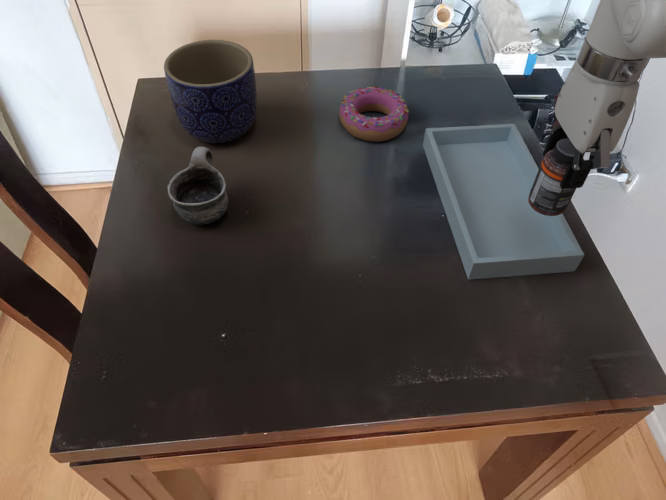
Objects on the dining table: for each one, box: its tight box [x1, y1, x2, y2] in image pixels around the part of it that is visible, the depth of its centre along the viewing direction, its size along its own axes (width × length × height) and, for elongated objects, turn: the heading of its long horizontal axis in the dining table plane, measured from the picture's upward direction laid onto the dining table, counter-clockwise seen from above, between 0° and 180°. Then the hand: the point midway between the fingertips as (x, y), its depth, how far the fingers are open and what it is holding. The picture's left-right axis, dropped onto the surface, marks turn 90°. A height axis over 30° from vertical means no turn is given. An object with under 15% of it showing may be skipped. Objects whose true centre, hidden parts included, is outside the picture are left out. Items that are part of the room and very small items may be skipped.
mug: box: [167, 146, 229, 226], centre depth 92 cm, size 10×12×10 cm
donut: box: [338, 86, 410, 142], centre depth 111 cm, size 14×14×5 cm
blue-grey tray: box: [422, 123, 585, 281], centre depth 96 cm, size 34×18×4 cm, turn 6°
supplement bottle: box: [528, 138, 586, 216], centre depth 79 cm, size 6×6×11 cm
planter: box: [163, 39, 258, 144], centre depth 105 cm, size 17×17×15 cm
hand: (561, 170), depth 78 cm, fingers closed on supplement bottle, 6 cm apart
